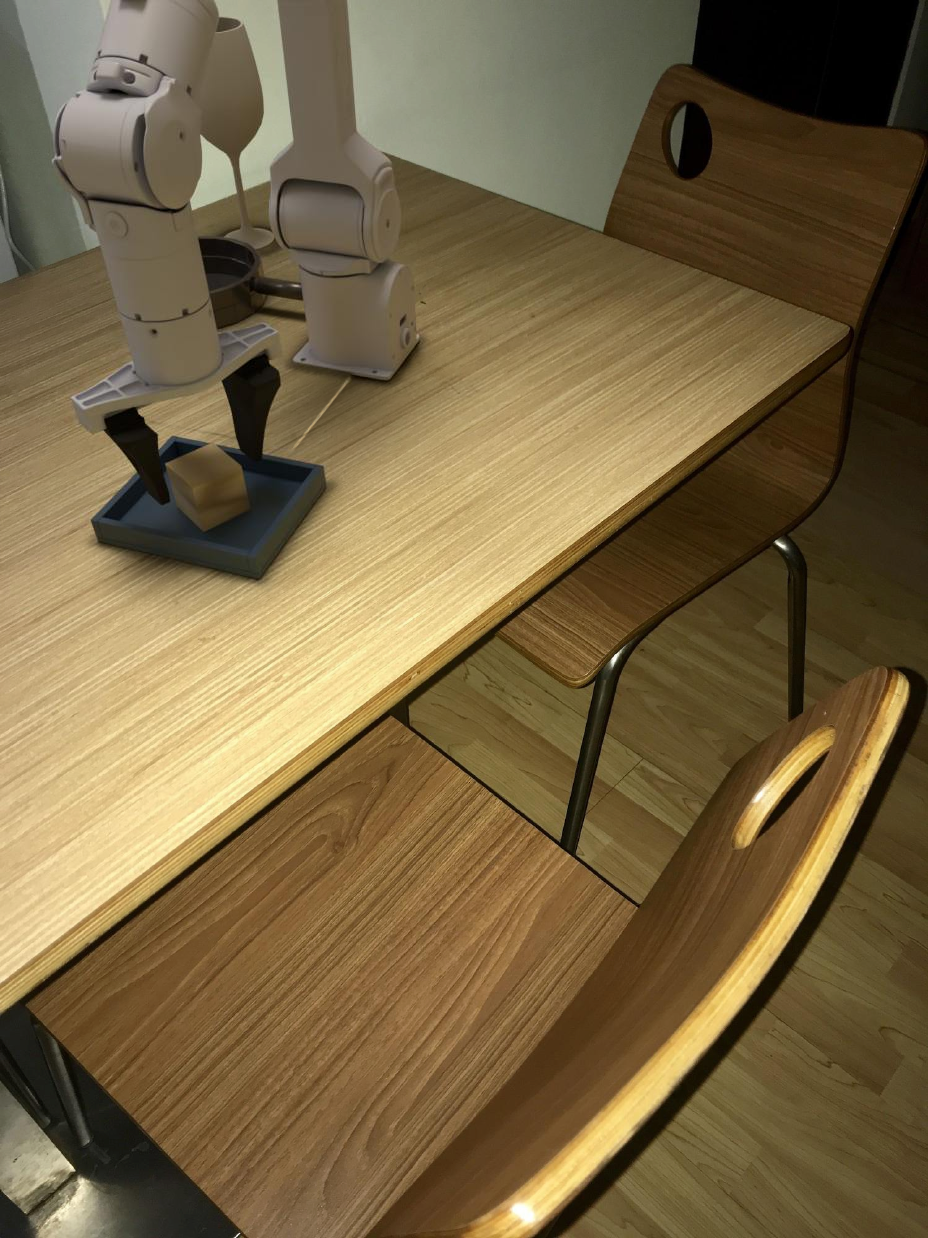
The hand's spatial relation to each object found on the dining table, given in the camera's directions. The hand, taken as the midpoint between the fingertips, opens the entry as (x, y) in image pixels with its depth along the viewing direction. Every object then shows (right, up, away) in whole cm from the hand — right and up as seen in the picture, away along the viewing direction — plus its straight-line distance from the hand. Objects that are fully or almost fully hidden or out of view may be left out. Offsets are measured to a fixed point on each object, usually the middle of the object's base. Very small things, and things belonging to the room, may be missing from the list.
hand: (206, 475), depth 72 cm
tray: (0, -2, +2) cm, 3 cm away
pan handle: (+2, +20, +22) cm, 30 cm away
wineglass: (-5, +30, +36) cm, 48 cm away
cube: (0, -2, +2) cm, 3 cm away
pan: (-7, +21, +26) cm, 34 cm away
